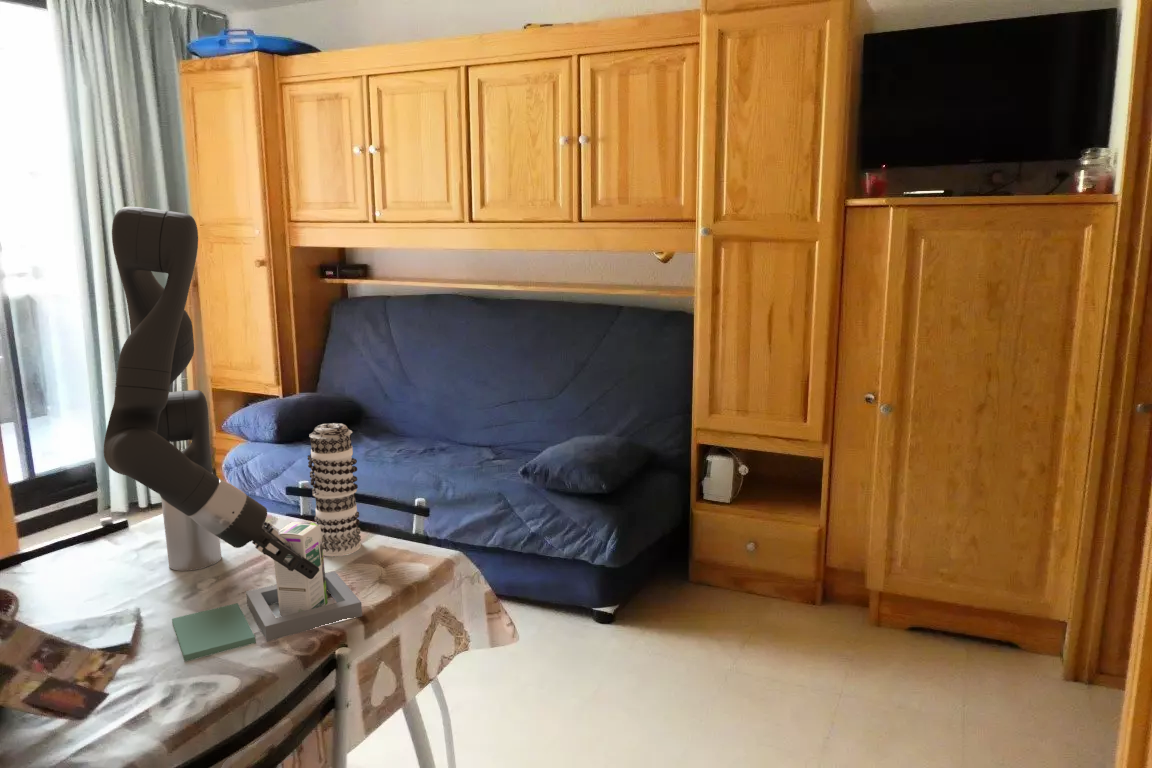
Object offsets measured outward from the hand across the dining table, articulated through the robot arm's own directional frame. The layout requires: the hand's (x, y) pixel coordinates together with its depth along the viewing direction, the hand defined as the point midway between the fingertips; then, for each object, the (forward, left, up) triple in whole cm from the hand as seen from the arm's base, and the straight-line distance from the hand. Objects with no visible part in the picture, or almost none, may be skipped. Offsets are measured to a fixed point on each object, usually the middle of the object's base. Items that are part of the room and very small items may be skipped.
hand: (308, 565), depth 136 cm
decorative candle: (-24, +12, -8) cm, 28 cm away
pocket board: (0, -1, -8) cm, 8 cm away
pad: (0, -15, -8) cm, 17 cm away
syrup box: (0, -1, -8) cm, 8 cm away
